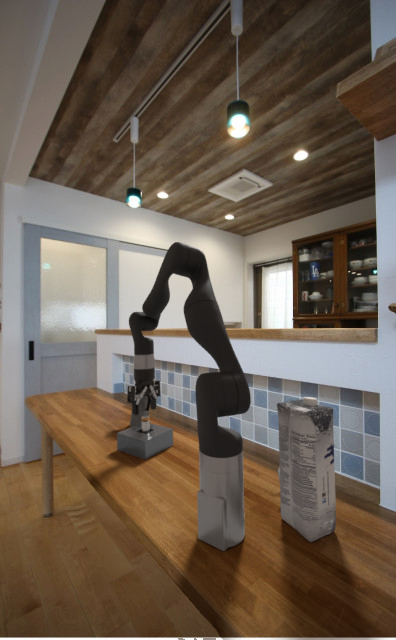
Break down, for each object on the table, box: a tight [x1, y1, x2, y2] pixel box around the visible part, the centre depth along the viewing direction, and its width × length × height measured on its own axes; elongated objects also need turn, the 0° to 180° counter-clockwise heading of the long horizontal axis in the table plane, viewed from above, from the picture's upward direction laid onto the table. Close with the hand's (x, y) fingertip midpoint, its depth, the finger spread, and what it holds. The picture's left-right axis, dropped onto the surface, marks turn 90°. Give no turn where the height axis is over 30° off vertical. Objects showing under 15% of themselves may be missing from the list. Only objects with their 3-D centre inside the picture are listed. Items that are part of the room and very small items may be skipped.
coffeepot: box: [129, 394, 151, 428], centre depth 129 cm, size 15×9×18 cm, turn 43°
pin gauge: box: [142, 415, 151, 434], centre depth 105 cm, size 3×3×10 cm
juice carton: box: [276, 396, 337, 543], centre depth 63 cm, size 9×10×27 cm
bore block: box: [116, 422, 174, 460], centre depth 105 cm, size 14×14×6 cm
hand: (144, 411), depth 105 cm, fingers open, 8 cm apart
